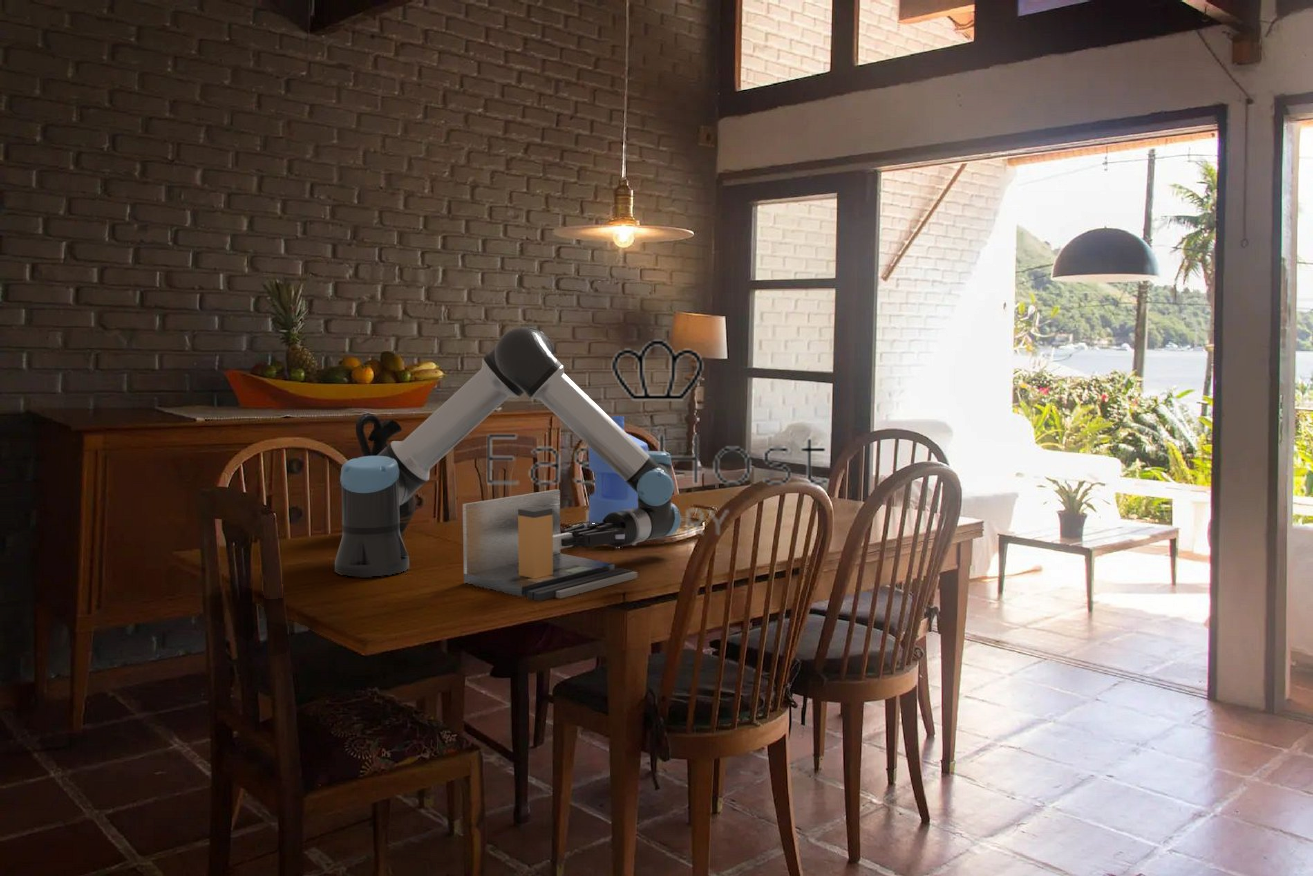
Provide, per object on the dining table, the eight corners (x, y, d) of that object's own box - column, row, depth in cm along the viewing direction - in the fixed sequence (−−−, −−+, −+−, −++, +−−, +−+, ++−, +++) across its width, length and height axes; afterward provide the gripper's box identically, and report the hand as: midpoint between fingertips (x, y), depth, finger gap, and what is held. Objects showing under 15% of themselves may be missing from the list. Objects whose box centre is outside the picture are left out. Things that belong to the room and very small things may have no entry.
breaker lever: (534, 578, 207) (533, 511, 206) (518, 575, 210) (518, 509, 209) (552, 574, 211) (552, 508, 209) (537, 570, 214) (536, 506, 212)
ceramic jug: (390, 526, 272) (387, 410, 269) (428, 534, 262) (426, 413, 259) (332, 536, 259) (329, 414, 256) (370, 544, 249) (367, 417, 246)
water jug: (623, 515, 290) (623, 413, 287) (660, 523, 278) (660, 417, 275) (576, 521, 280) (576, 416, 277) (612, 530, 268) (612, 420, 265)
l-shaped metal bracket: (521, 597, 201) (520, 513, 199) (463, 583, 212) (462, 504, 210) (614, 573, 221) (614, 497, 219) (557, 561, 232) (556, 489, 230)
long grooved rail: (544, 602, 197) (544, 595, 197) (527, 598, 200) (527, 591, 200) (637, 578, 217) (637, 571, 217) (619, 574, 220) (619, 567, 220)
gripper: (648, 548, 226) (570, 567, 208) (603, 540, 234) (524, 558, 216) (648, 514, 225) (569, 529, 207) (603, 507, 233) (524, 521, 215)
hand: (546, 544), depth 212 cm, fingers closed
